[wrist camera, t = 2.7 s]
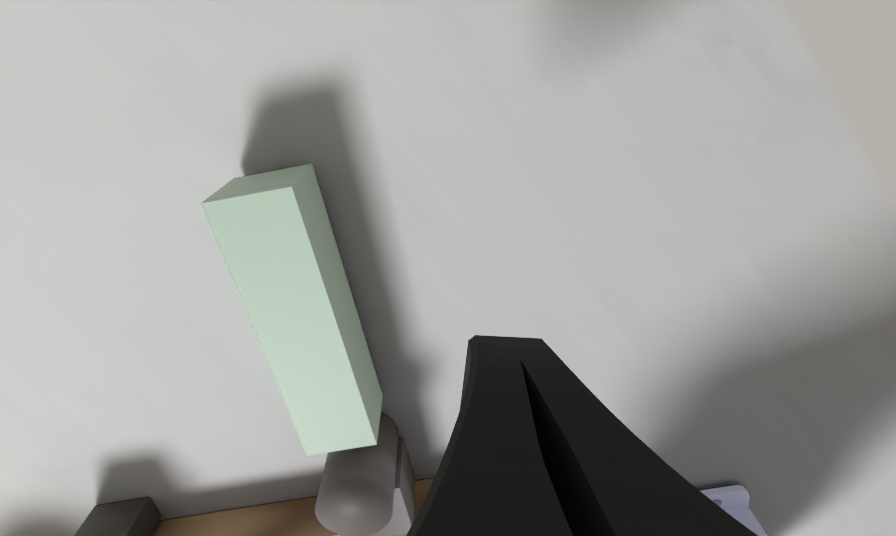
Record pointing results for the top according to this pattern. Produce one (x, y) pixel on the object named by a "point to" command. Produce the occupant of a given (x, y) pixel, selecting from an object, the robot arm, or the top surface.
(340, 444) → the pale green bar
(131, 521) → the stool seat
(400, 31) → the top surface
